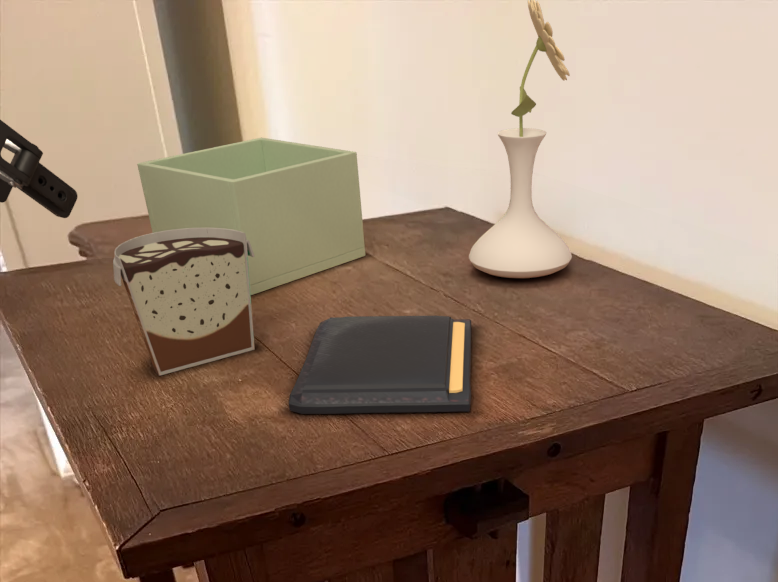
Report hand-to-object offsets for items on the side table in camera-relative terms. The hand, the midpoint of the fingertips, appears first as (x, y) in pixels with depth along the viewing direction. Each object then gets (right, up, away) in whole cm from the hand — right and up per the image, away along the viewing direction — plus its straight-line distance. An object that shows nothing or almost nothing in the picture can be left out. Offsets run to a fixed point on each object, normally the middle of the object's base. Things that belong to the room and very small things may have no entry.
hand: (38, 198), depth 68 cm
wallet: (+25, -9, +13) cm, 29 cm away
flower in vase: (+38, +8, +34) cm, 52 cm away
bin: (+8, +11, +38) cm, 40 cm away
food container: (+7, -7, +16) cm, 18 cm away
